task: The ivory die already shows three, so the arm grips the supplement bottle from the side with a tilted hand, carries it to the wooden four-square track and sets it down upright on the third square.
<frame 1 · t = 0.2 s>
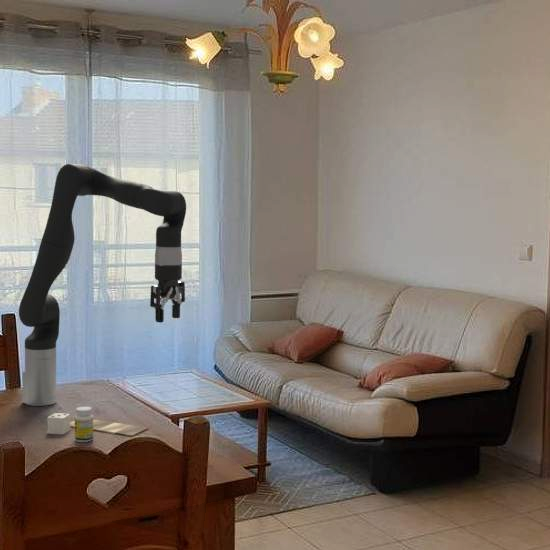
hand: (167, 320, 229), 29 cm above the table, tool pointing down, fingers open, 8 cm apart
track: (106, 427, 224), on the table
die: (59, 431, 220), on the table
supplement bottle: (84, 440, 213), on the table
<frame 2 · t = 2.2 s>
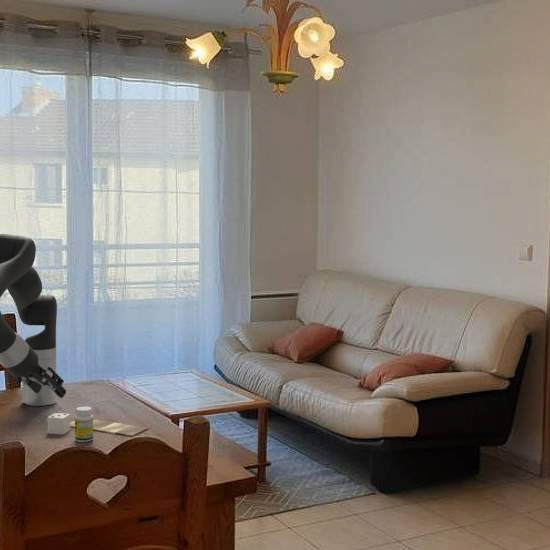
hand: (51, 392, 201), 15 cm above the table, tool tilted 45°, fingers open, 8 cm apart
nothing on the table moved.
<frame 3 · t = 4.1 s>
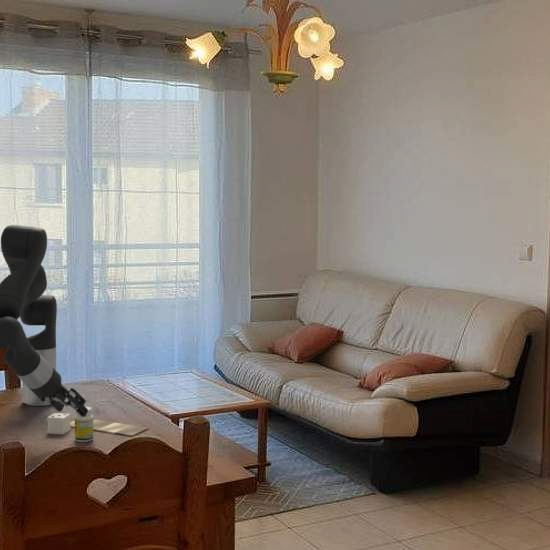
hand: (73, 411, 209), 8 cm above the table, tool tilted 45°, fingers open, 8 cm apart
nothing on the table moved.
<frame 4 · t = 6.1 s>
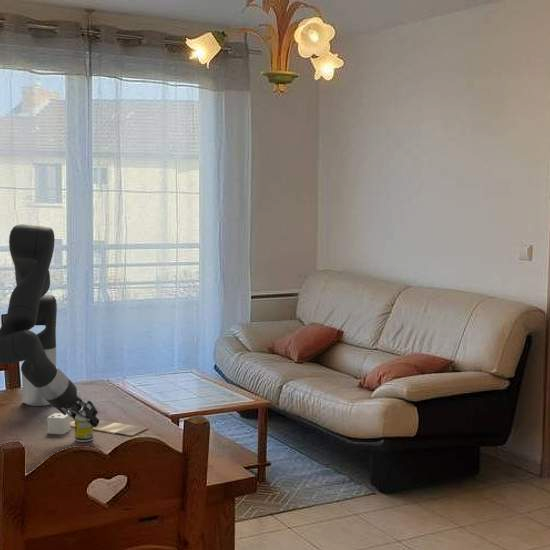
hand: (89, 422, 214), 4 cm above the table, tool tilted 45°, fingers closed on supplement bottle, 4 cm apart
supplement bottle: (84, 440, 213), on the table, touching gripper
everything else where it was.
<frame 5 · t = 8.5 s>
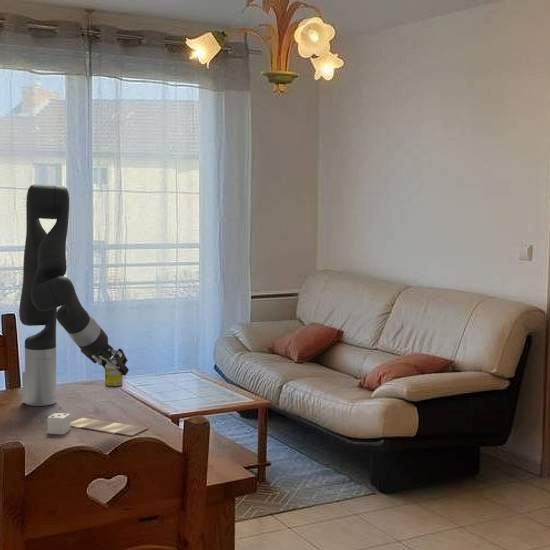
hand: (118, 371, 223), 16 cm above the table, tool tilted 45°, fingers closed on supplement bottle, 4 cm apart
supplement bottle: (113, 388, 222), point 11 cm above the table, touching gripper
everything else where it was.
when the fingers open (6 cm above the table, at t = 10.8 s): supplement bottle drops 1 cm, resting on track.
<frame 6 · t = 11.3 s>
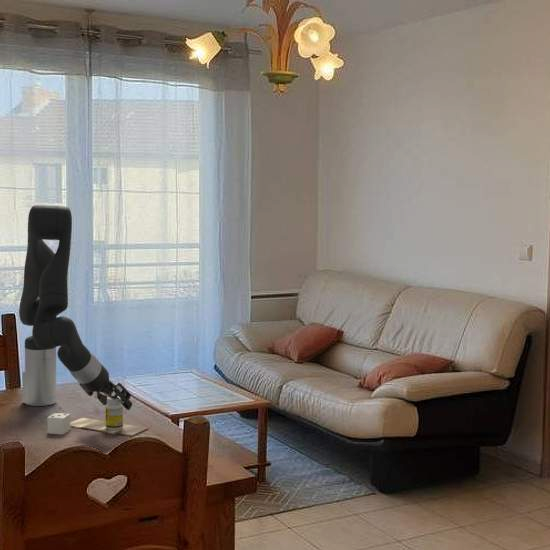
hand: (118, 404, 224), 6 cm above the table, tool tilted 45°, fingers open, 8 cm apart
supplement bottle: (114, 428, 223), resting on track
everything else where it was.
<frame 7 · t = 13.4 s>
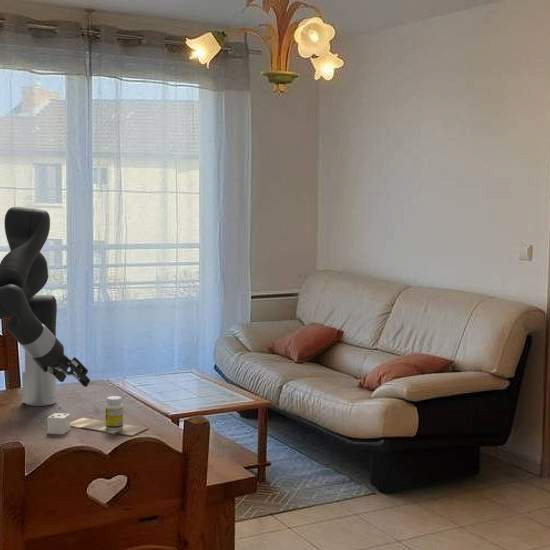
hand: (75, 381, 210), 16 cm above the table, tool tilted 45°, fingers open, 8 cm apart
nothing on the table moved.
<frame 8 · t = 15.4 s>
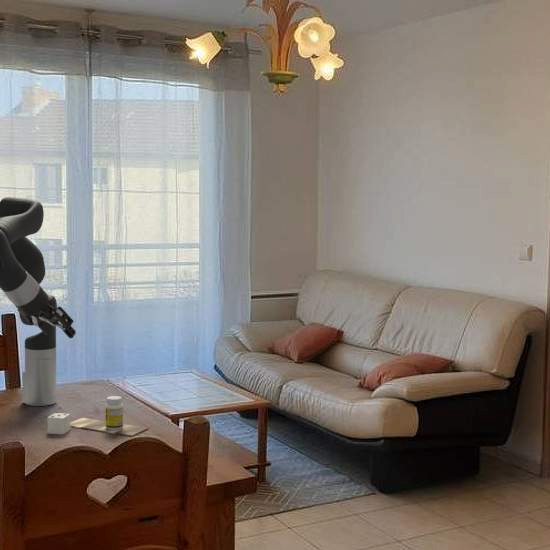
hand: (61, 333, 206), 29 cm above the table, tool tilted 45°, fingers open, 8 cm apart
nothing on the table moved.
at the end: supplement bottle inside the target area (0.2 cm from its centre), resting on track; supplement bottle tilted 0°; the gripper is holding nothing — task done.
